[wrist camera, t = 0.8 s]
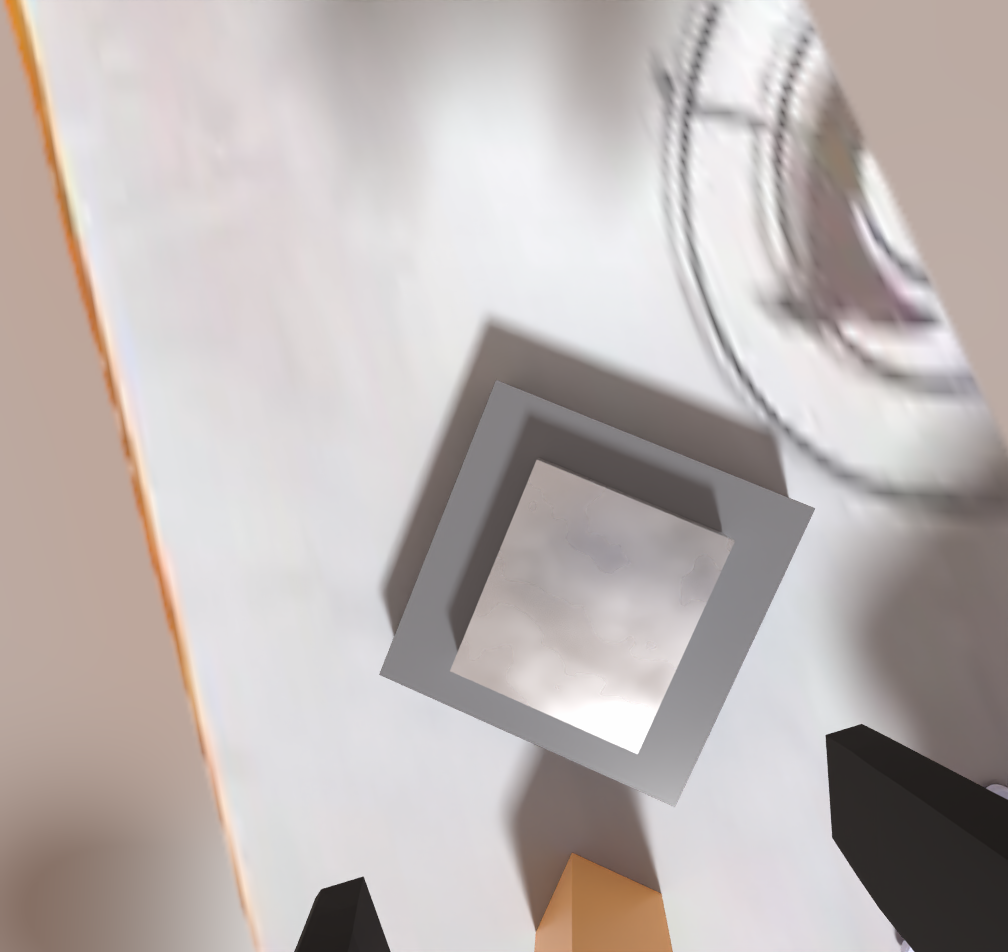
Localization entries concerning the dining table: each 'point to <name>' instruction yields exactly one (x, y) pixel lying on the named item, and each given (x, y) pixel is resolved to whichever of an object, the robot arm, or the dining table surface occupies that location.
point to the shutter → (591, 604)
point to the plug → (602, 913)
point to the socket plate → (640, 473)
